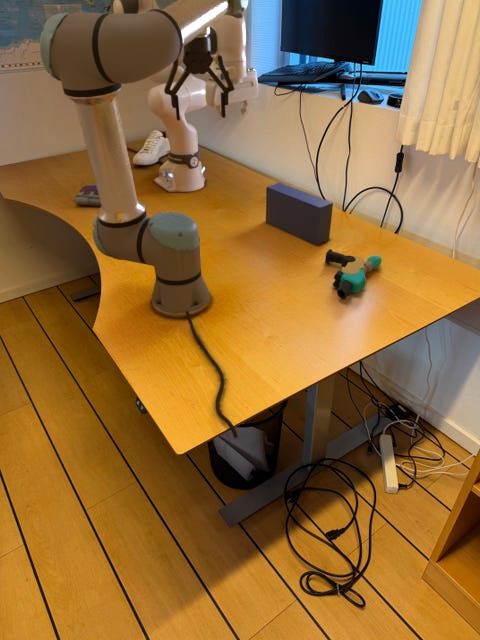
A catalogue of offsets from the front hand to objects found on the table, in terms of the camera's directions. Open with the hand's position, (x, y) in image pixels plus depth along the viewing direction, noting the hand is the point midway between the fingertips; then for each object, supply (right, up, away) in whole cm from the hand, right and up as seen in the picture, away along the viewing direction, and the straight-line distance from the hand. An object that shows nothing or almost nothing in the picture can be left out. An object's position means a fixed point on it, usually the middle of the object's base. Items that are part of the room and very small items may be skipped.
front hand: (201, 118), depth 142 cm
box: (+31, -30, +18) cm, 47 cm away
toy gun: (-42, -15, +40) cm, 60 cm away
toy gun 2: (+41, -49, -8) cm, 64 cm away
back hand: (+9, +8, +17) cm, 21 cm away
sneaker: (-30, +15, +81) cm, 88 cm away
